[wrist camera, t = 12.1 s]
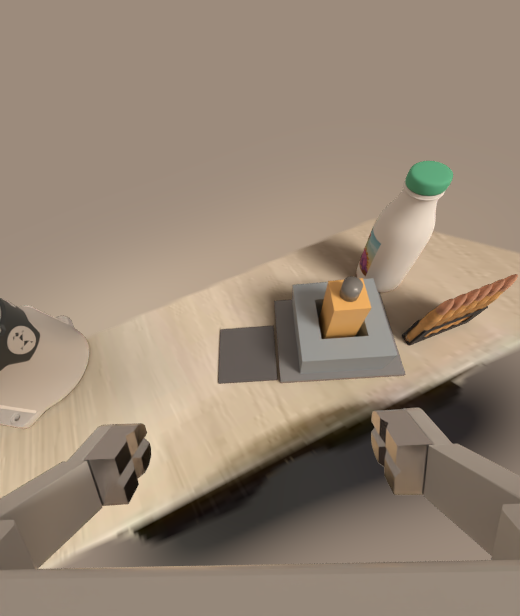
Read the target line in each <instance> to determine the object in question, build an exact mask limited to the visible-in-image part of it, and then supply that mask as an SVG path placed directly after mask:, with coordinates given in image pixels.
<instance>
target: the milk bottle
mask: <svg viewBox="0 0 520 616" xmlns="http://www.w3.org/2000/svg"><path fill="white" fill-rule="evenodd" d="M452 178H453V172H452V171H451V169H450V168H449V167H447V166H446V165H444V164H442V163H439V162H435V161H423V162H419V163H416V164H415V165H413V166H412V167H411V169H410V171H409V172H408V175H407V177H406V181H405V182H404V184H403V188H404V189H403V190H402V192H401V193H400V194H399V195H398V197H397V198H396V199H395V200H393V201H392V202H391V203H390V204H389V205H388V206H387V207H386V208H385V209H384V210H383V211H382V212H381V214H380V215H379V217H378V218H377V220H376V222H375V224H374V226H373V229H372V231H371V233H370V236H369V238H368V241H367V243H366V246H365V249H364V251H363V254H362V256H361V259H360V262H359V264H358V267H357V278H359V279H360V278H363V279H370V278H373V279H374V282H375V285H376V288H377V291H378V292H389V291H391V290H394V289H395V288H397V287H398V286H399V284H400V283H401V282H402V280H403V279H404V277H405V276H406V274H407V273H408V271H409V270H410V268H411V267H412V266H413V264H414V263H415V261H416V260H417V258H418V256H419V255H420V253H421V252H422V250H423V249H424V247H425V246H426V244H427V242H428V241H429V239H430V237H431V235H432V232H433V229H434V226H435V211H436V205H437V200H438V198H440V197H441V196H442V195H443V194H444V192H445V190H446V189H447V187H448V186H449V185H450V183H451V181H452Z"/></svg>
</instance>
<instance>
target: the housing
mask: <svg viewBox="0 0 520 616" xmlns="http://www.w3.org/2000/svg"><path fill="white" fill-rule="evenodd" d="M363 280H364V284H365V287H366V291H367V294H368V297H369V301H370V304H371V310H370V312H369V313H368V315H367V317H366V318H365V320H364V322H363V323H362V325H361V327H360V328H359V330H358V332H357V333H356V335H355V337H345V338H331V339H321V333H320V327H319V317H320V313H321V309H322V305H323V300H324V296H325V292H326V288H327V284H328V282H322V283H310V284H298V285H293V294H292V300H281V301H274V303H275V316H276V328H277V341H278V354H279V367H280V379H281V383H291V382H308V381H324V380H340V379H357V378H373V377H389V376H404V375H405V371H404V368H403V365H402V362H401V358H400V355H399V352H398V349H397V346H396V343H395V340H394V337H393V333H392V330H391V327H390V324H389V321H388V318H387V315H386V312H385V308H384V305H383V302H382V299H381V296H380V293H378V291H377V288H376V285H375V282H374V279H373V278H370V279H363Z"/></svg>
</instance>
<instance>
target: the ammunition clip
mask: <svg viewBox="0 0 520 616" xmlns="http://www.w3.org/2000/svg"><path fill="white" fill-rule="evenodd" d="M517 277H518V275H517V274H515V275H511V276H509V277H507V278H505V279H501V280H498V281H496V282H494V283H492V284H488V285H485V286H483V287H481V288H479V289H475V290H473V291H470V292H468V293H467V294H462V295H460V296H458V297H456V298H454V299H449V300H447V301H445V302H443V303H442V304H440V305H439V306H438V307H436V308H435V309H434V310H432V311H430V312H429V313H428V314H427V315H426V316H425V317H424V318H423V319H421V320H418V321H417V322H416V323H415V324H413V325H412V326H411V327H410V328H409V329H408V330H407V331H406V332H405V333H404V334H403V335H402V336H403V338H404V339H405V341H406V342H407V344H408V345H412V344H414V343H417V342H419V341H422V340H424V339H427V338H430V337H432V336H435V335H437V334H440V333H442V332H445V331H447V330H450V329H452V328H455V327H457V326H460V325H462V324H465V323H467V322H469V321H470V320H471V319H473V318H474V317H475V316H477V315H478V314H480V313H481V312H482V311H484V310H485V309H486V308H488V305H489V304H490V303H492V302H493V301H494V300H496V299H497V298H498V297H499V296H500V295H501V294H502V293H503V292H504V291H505V290H506V289H508V288H509V287H510V286H511V285H512V284H513V283H514V282H515V280H516V279H517Z"/></svg>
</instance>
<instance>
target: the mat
mask: <svg viewBox="0 0 520 616" xmlns="http://www.w3.org/2000/svg"><path fill="white" fill-rule="evenodd" d="M269 380H277V370H276V356H275V342H274V328H273V326H262V327H249V328H236V329H222V330H221V332H220V357H219V384H221V383H237V382H253V381H269Z"/></svg>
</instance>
